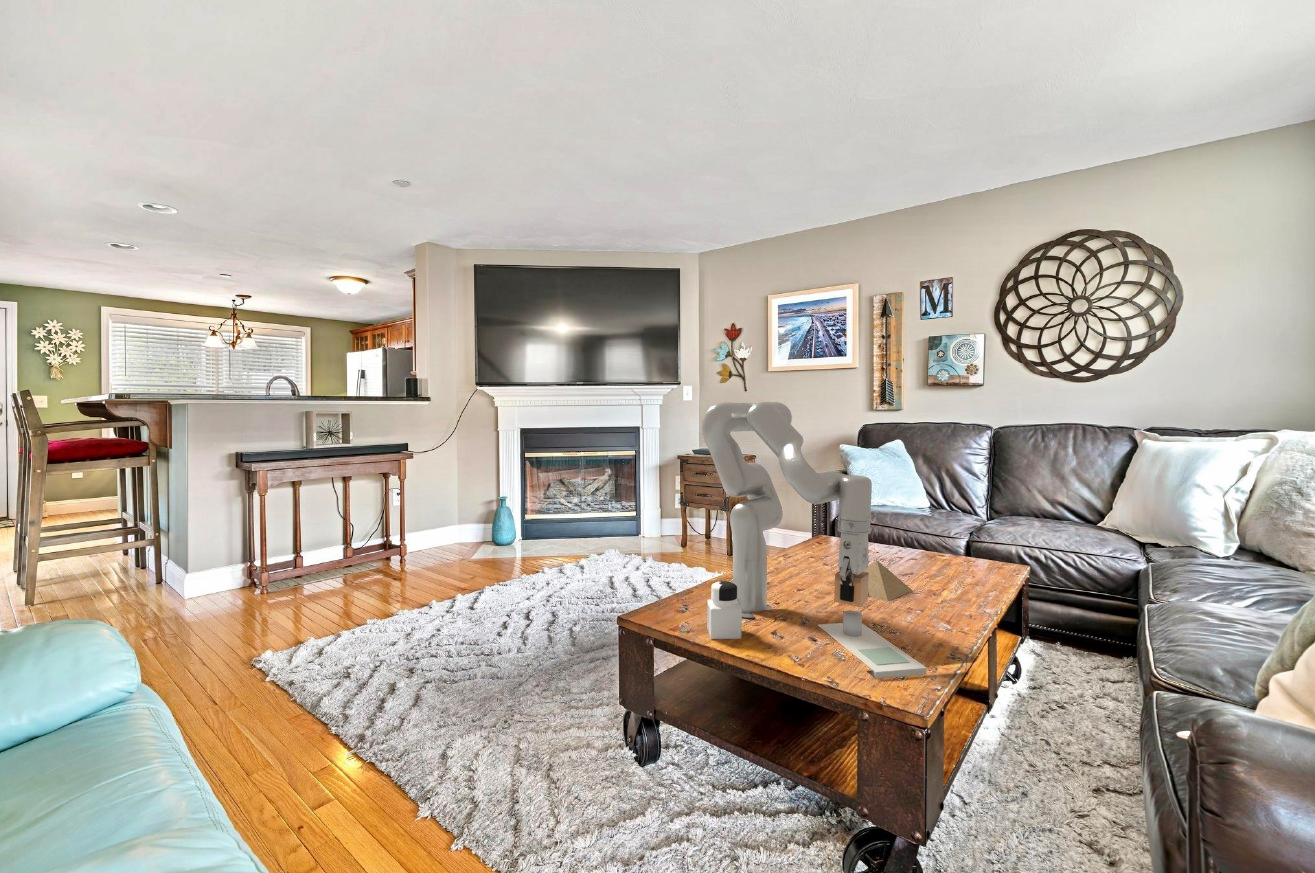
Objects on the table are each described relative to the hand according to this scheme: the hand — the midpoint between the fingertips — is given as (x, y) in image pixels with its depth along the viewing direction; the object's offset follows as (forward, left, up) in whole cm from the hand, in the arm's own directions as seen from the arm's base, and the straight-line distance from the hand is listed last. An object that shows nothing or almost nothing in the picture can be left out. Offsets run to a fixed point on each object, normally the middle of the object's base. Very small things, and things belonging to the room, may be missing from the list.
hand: (851, 596), depth 148 cm
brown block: (0, 0, -1) cm, 1 cm away
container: (-30, +9, -11) cm, 33 cm away
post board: (0, -7, -11) cm, 13 cm away
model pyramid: (+28, +36, -11) cm, 47 cm away
